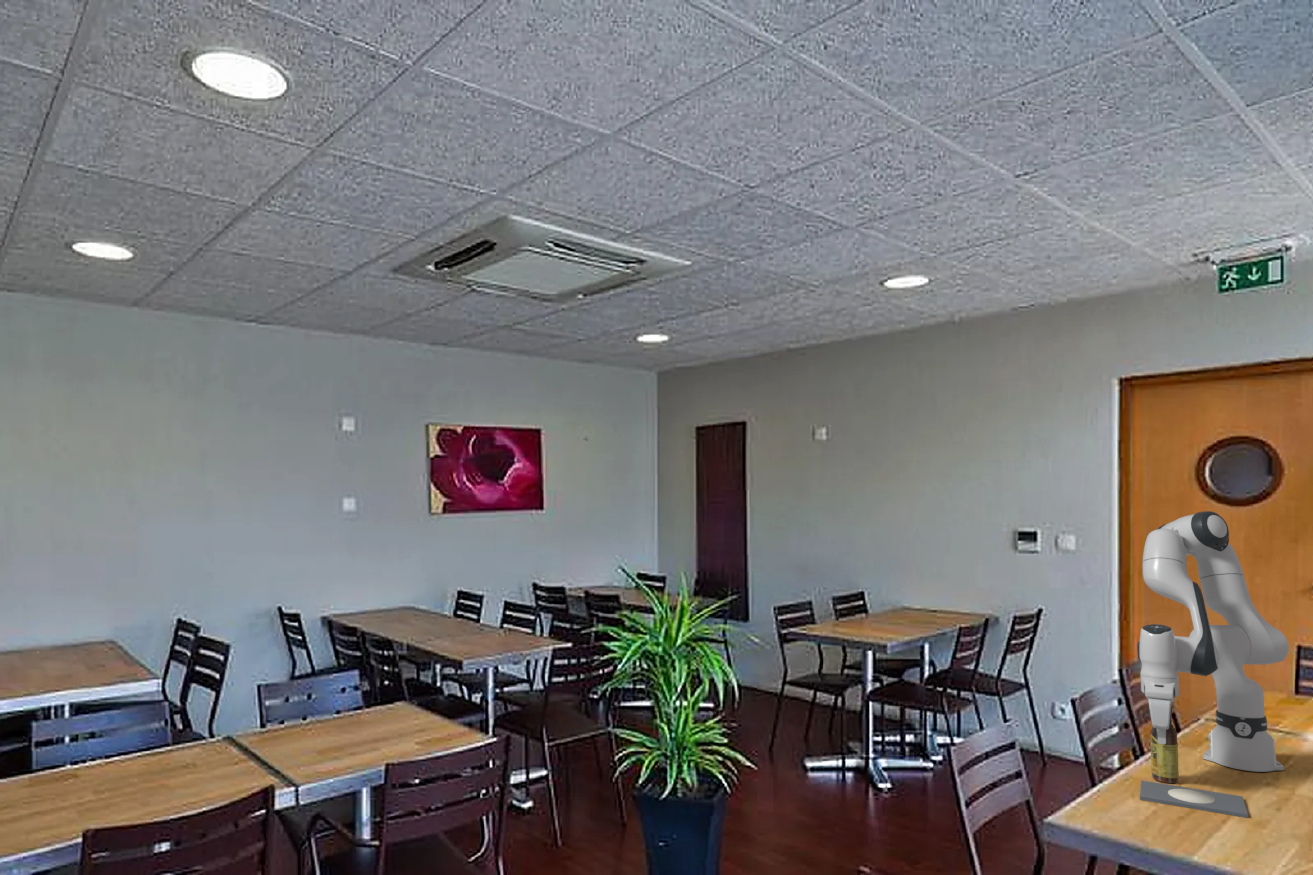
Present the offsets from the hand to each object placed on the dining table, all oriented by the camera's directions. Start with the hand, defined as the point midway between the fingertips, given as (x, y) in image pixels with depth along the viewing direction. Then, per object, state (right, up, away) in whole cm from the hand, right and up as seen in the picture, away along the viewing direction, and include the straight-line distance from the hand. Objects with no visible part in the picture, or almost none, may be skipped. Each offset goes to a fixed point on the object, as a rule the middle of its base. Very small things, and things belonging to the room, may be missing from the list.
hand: (1162, 739), depth 222 cm
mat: (-2, -10, -15) cm, 18 cm away
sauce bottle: (0, -11, -1) cm, 11 cm away
